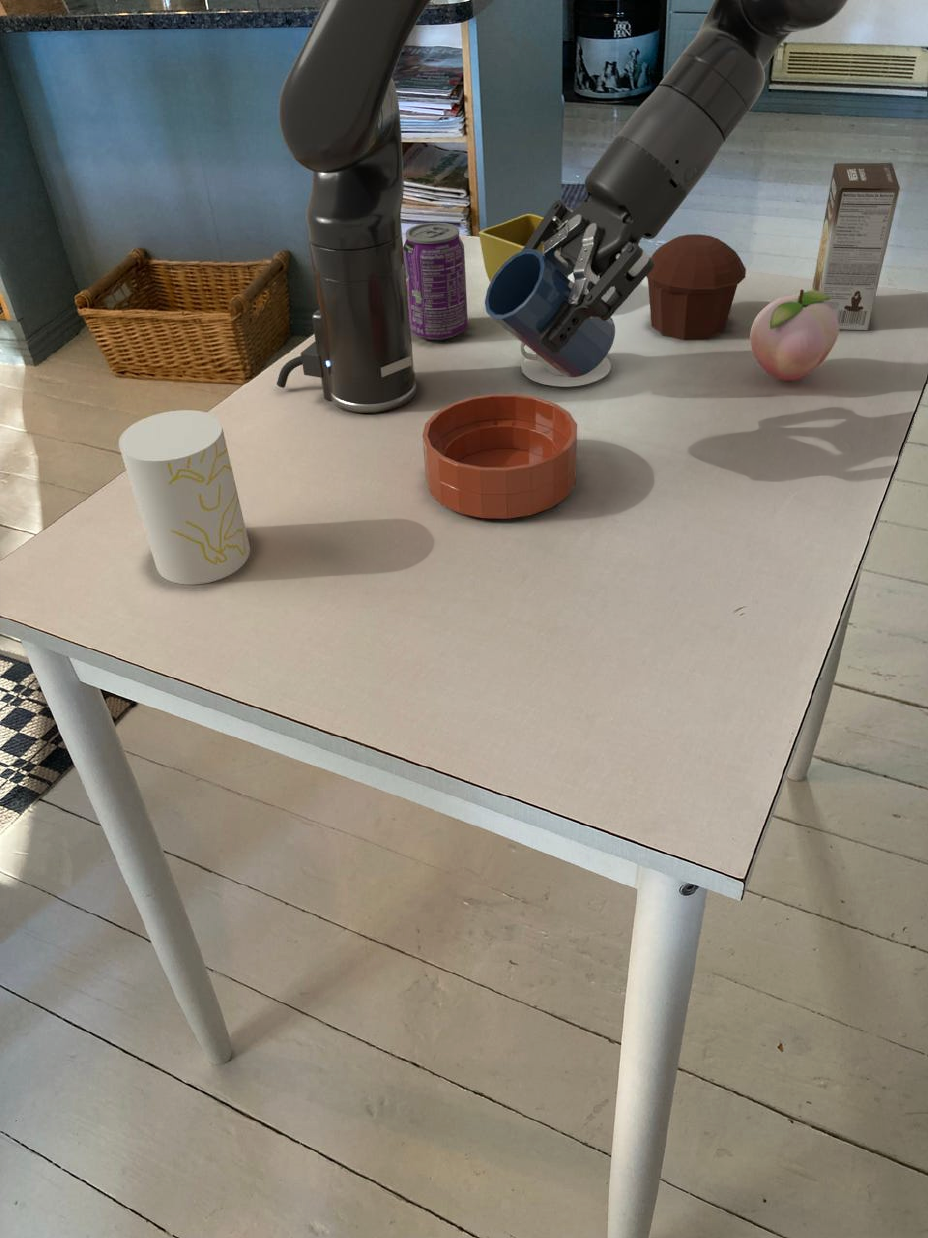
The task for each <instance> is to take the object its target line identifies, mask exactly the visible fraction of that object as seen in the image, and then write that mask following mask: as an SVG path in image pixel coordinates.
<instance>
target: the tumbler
mask: <svg viewBox="0 0 928 1238" xmlns="http://www.w3.org/2000/svg"><path fill="white" fill-rule="evenodd" d="M573 284H574V281H572V280H571V279H570V278H569V277H568V278H567V277H566V276H565V275H564V274H563V273H562V272H560V271H559V270H558V269H557V268H556V267H555V266H554V265H553V264H552V263H551V262H549V261H548V260H547V259H546V258H545V257H544V256H543V255H542V254H540V253H539V252H538V251H537V250H524V251H521V252H519V253H517V254H515V255H513V256H512V257H511V258H510V259H509V260H507V261H506V262H505V263H504V264H503V265H502V266H501V268H500V269H499V270H498V271H497V273H496V274H495V275H494V277H493V279H492V281H491V283H490V282H489V285H488V287H487V289H486V294H485V299H484V307H485V311H486V314H487V315H488V316H489V317H491V319H493V320H494V321H495V322H497V324H499V325H500V326H501V327H503V329H505V330H506V331H508V332H509V333H510V334H512V336H514V337H515V338H516V339H518V340H519V341H520V343H521V342H523V343H524V344H525V346H526V347H528V348H529V349H530V350H531V351H532V352H533V353H537V354H538V355H539V356H540V357H542V358H543V359H544V360H545V361H547V362H548V363H549V364H550V365H552V366H553V367H554V368H555V369H557V370H558V371H559V372H560V373H562V374H563V375H565V376H567V377H579V376H583V375H585V374H587V373H589V372H590V371H592V370H593V369H594V368H596V367H597V366H598V365H599V364H600V363H601V362H602V361H603V359H604V358H605V357H607V355H608V354H609V352H610V351H611V348H612V347H613V345H614V341H615V336H616V325H615V321H614V319H613V318H612V316H611V317H610V318H609V319H608V320H606V321H603V320H602V319H601V318H599V317H593V318H591V319H586V320H585V321H584V322H583V323H582V324H581V325H580V327H579V328H578V329H577V331H576V332H575V333H574V335H572V337H571V338H570V339H569V341H568V342H567V344H566V345H565V346H564V347H562V348H561V349H560V351H559V352H557V353H553V352H552V351H550V350H549V349H548V348H547V347H545V346H544V345H543V344H542V343H540V342H539V340H538V336H539V334H540V332H541V331H542V330H543V329H544V327H545V326H546V325H547V323H548V322H549V321H550V319H551V318H552V317H553V315H554V314H555V313H556V312H557V310H558V309H559V308H560V306H561V305H562V304H563V302H565V303H567V304H569V303H568V298H569V295H570V292H571V289H572V287H573Z"/></svg>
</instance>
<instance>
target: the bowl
mask: <svg viewBox="0 0 928 1238" xmlns="http://www.w3.org/2000/svg"><path fill="white" fill-rule="evenodd" d="M421 437H422V448H423V461H424V471H425V481H426V485H427V488H428V491H429V494H430V496H431V497H433V498H434V499H435V500H436V501H437V502H438V503H439V504H440V505H441V506H443V507H446V508H448V509H449V510H452V511H454V512H456V513H458V514H460V515H464V516H465V515H466V516H471V517H474V518H475V517H476V518H479V519H505V520H507V519H514V518H522V517H526V516H532V515H535V514H537V513H540V512H543V511H546V510H548V509H551V508H553V507H554V506H556V505H557V504H559V503H560V502H561V501H563V500H564V499H566V498H567V497H568V496H569V495H570V493H571V492H572V490H573V489H574V487H575V486H576V483H577V481H576V480H577V453H578V450H577V449H578V424H577V422H576V420H575V419H574V417H573V415H572V414H571V413H570V412H569V411H567V410H566V409H564V408H563V407H562V406H560V405H559V404H557V403H554V402H551V401H549V400H546V399H544V398H541V397H538V396H531V395H526V394H525V395H524V394H518V393H492V394H485V395H479V396H471V397H468V398H465V399H461V400H459V401H456V402H452V403H450V404H448V405H446V406H445V407H442V408H441V409H439V410H438V411H436V412H435V413H433V415H432V416H431V417H430V418H429V419H428V420H427V421H426V422H425V424H424V428H423V431H422V436H421Z"/></svg>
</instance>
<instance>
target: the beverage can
mask: <svg viewBox="0 0 928 1238" xmlns="http://www.w3.org/2000/svg"><path fill="white" fill-rule="evenodd" d="M403 251H404V262H405V273H406V285H407V296H408V308H409V319H410V331H411V334H413V335H415V336H418V337H420V338H422V339H425V340H429V341H445V340H449V339H451V338H454V337H456V336H457V335H459V334H462V333H463V332H464V331H466V329H468V326H469V323H468V322H469V320H468V319H469V318H468V302H467V301H468V299H467V279H466V278H467V277H466V257H465V255H466V254H465V244H464V242H463V241H462V238H461V237H460V228H459V227H458V226H456V225H454V224H452V223H447V222H425V223H420V224H417V225H414V226H411V227H409V228H408V229H406V231H405V242H404V243H403Z"/></svg>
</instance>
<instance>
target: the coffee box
mask: <svg viewBox="0 0 928 1238" xmlns="http://www.w3.org/2000/svg"><path fill="white" fill-rule="evenodd" d="M832 169H833V170H832V175H831V176H832V177H831V181H830V185H829V190H828V191H829V192H828V196H827V203H826V209H825V214H824V219H823V223H822V231H821V236H820V241H819V243H820V244H819V247H818V252H817V259H816V264H815V269H814V274H813V275H814V276H813V280H812V286H811V291H820V292H823V293H824V294H826V295H827V296H829V298H830V300H825V301H824V302H825V303H826V304H828V305H829V306H830V307H831V308H832V309H833V311H834V312H835V314H836V317H837V319H838V323H839V330H846V331H848V330H849V331H850V330H851V331H869V327H870V322H871V317H872V313H873V310H874V309H873V308H874V304H875V300H876V295H877V290H878V287H879V286H878V285H879V283H880V277H881V274H882V270H883V264H884V260H885V256H886V252H887V248H888V242H889V239H890V234H891V230H892V226H893V221H894V217H895V214H896V213H895V212H896V208H897V203H898V199H899V194H900V191H901V187H900V183H899V180H898V178H897V175H896V171H895V167H894V165H893V163H892V162H835V163H833V168H832Z"/></svg>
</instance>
